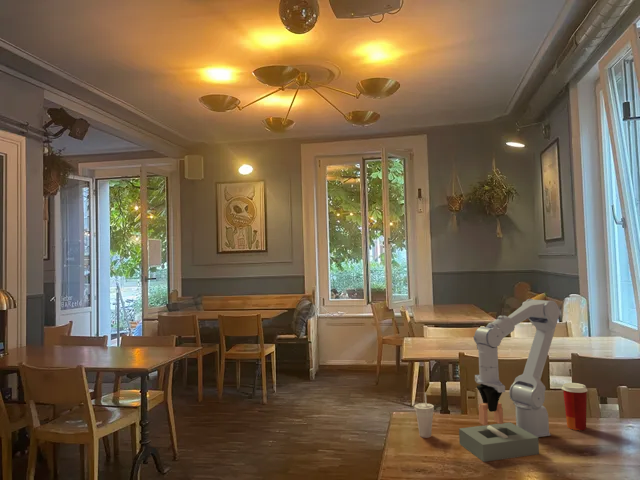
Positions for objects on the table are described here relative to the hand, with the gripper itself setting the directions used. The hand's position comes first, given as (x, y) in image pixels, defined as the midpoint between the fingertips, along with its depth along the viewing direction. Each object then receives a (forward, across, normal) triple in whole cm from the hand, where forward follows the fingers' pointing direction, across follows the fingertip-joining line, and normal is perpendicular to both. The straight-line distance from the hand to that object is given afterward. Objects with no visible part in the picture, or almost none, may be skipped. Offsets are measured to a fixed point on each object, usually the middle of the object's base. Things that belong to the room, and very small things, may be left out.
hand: (490, 409), depth 157 cm
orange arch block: (+4, 0, 0) cm, 4 cm away
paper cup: (+11, -4, +34) cm, 35 cm away
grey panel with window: (+10, +4, 0) cm, 11 cm away
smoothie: (+11, -13, -17) cm, 23 cm away
